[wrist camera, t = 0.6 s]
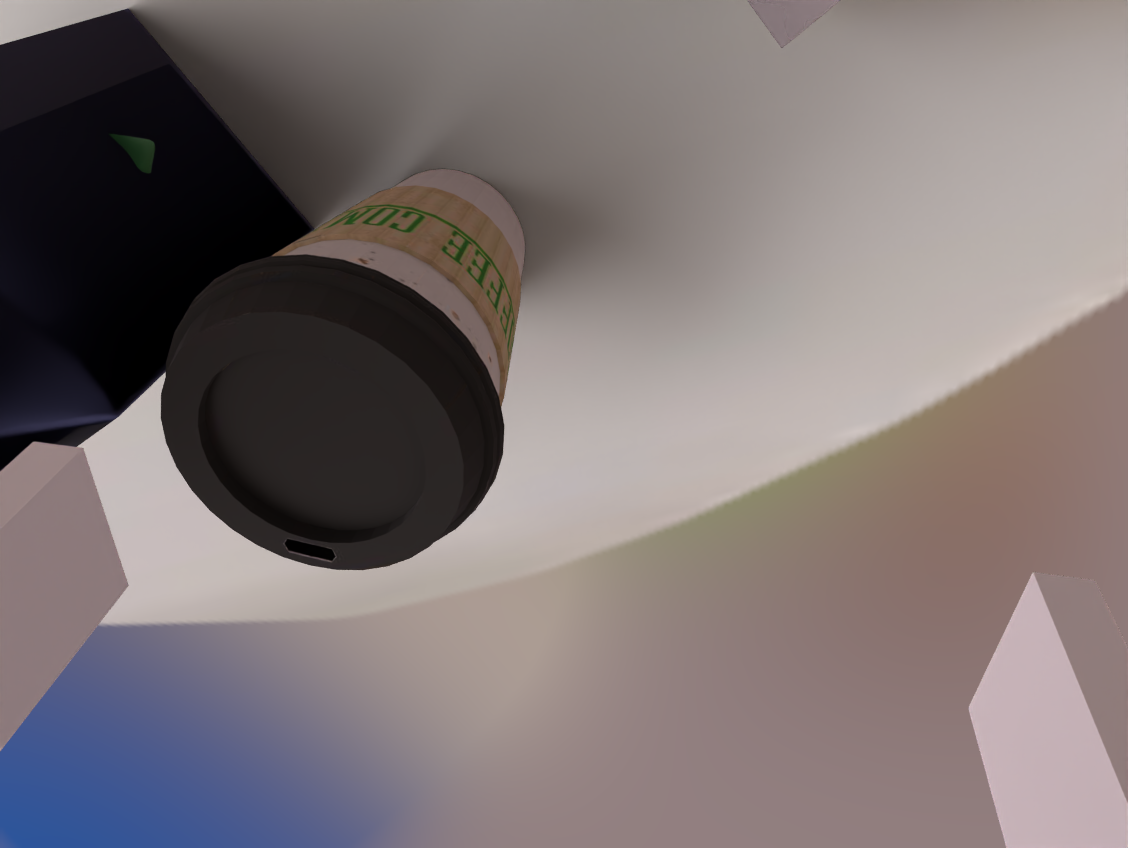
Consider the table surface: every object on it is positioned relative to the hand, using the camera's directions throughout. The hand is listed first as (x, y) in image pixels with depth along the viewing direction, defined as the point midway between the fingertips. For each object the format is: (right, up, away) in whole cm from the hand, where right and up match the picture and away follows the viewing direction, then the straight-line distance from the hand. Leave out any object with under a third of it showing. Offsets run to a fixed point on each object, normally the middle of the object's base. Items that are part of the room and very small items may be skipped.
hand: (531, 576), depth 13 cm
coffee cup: (-4, +10, +24) cm, 26 cm away
